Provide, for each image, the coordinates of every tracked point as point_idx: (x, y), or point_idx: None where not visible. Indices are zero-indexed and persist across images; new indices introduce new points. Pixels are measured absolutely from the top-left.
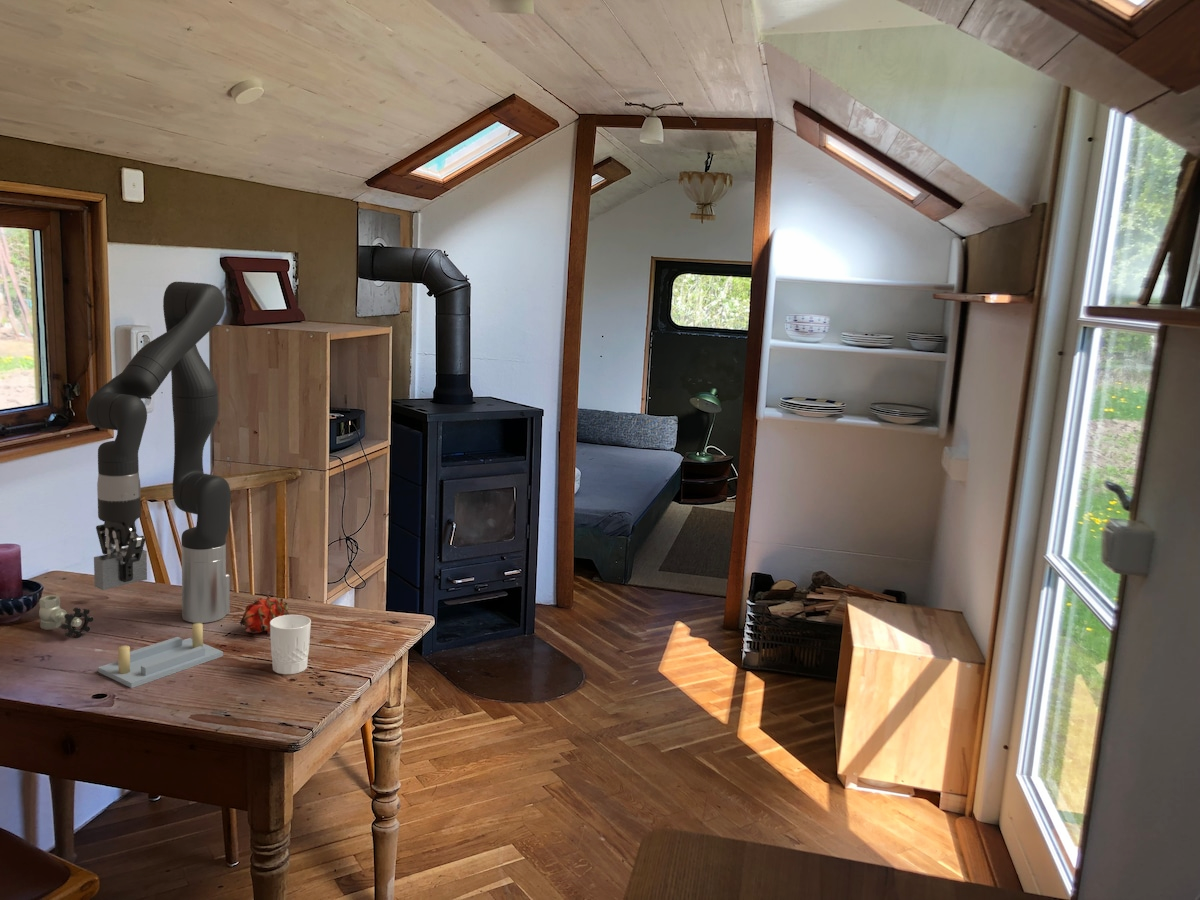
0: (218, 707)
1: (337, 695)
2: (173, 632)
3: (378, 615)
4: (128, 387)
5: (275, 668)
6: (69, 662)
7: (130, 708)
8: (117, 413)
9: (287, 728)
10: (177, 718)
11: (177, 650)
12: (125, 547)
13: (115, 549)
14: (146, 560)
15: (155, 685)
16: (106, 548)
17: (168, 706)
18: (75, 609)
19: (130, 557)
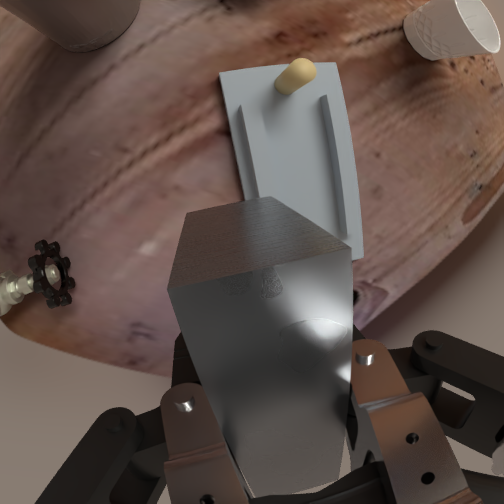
0: (466, 184)
1: (493, 71)
2: (138, 85)
3: None
4: None
5: (432, 58)
6: None
7: (408, 275)
8: None
9: None
10: (458, 237)
11: (276, 124)
12: (369, 460)
13: (164, 445)
14: (311, 222)
15: (373, 219)
16: (161, 483)
17: (433, 232)
18: (41, 291)
19: (454, 399)
